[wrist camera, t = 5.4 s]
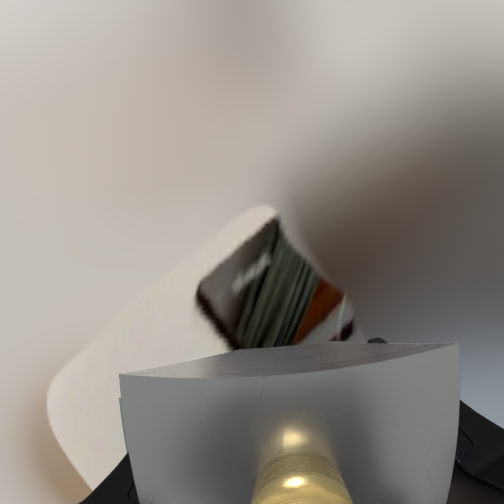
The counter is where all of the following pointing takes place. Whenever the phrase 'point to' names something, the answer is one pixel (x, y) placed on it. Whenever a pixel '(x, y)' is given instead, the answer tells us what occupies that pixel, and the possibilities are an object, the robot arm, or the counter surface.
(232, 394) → the housing
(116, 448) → the counter surface
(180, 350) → the counter surface
